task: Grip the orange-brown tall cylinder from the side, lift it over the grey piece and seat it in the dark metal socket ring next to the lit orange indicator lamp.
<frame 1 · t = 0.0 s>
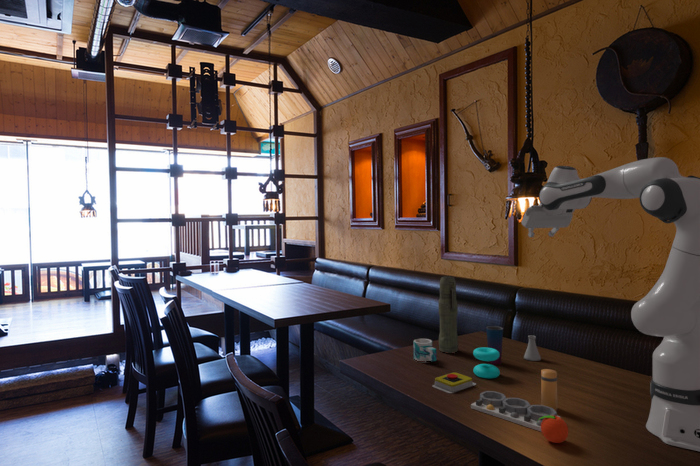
hand: (540, 236, 176), 54 cm above the table, tool tilted 30°, fingers open, 8 cm apart
clementine: (552, 442, 120), on the table
mug: (425, 361, 191), on the table
cup: (494, 363, 187), on the table
flask: (532, 359, 191), on the table
emergency button: (454, 387, 162), on the table
grey piece: (514, 414, 137), on the table
donuts: (486, 375, 172), on the table
orange-brown tall cylinder: (549, 408, 141), on the table
thermos: (448, 351, 205), on the table
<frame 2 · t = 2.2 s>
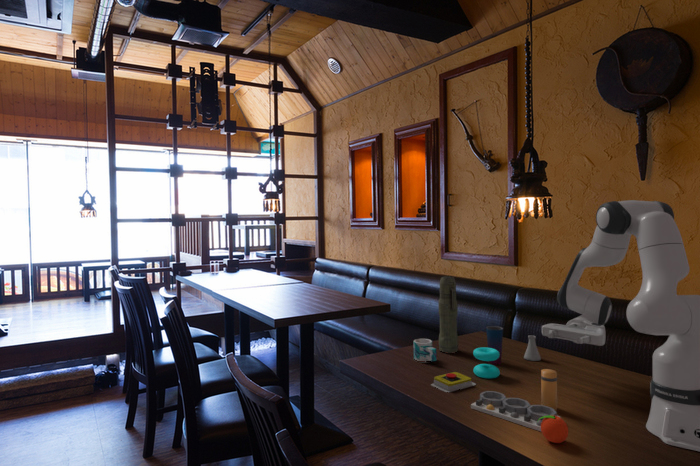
hand: (564, 338, 149), 20 cm above the table, tool horizontal, fingers open, 8 cm apart
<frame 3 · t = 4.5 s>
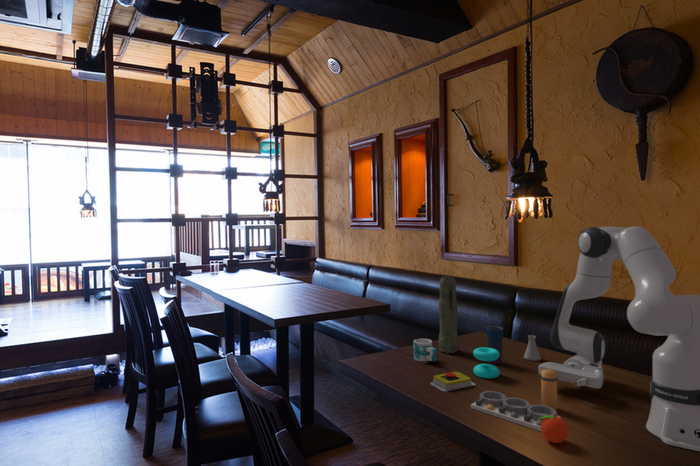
hand: (561, 380, 147), 7 cm above the table, tool horizontal, fingers open, 8 cm apart
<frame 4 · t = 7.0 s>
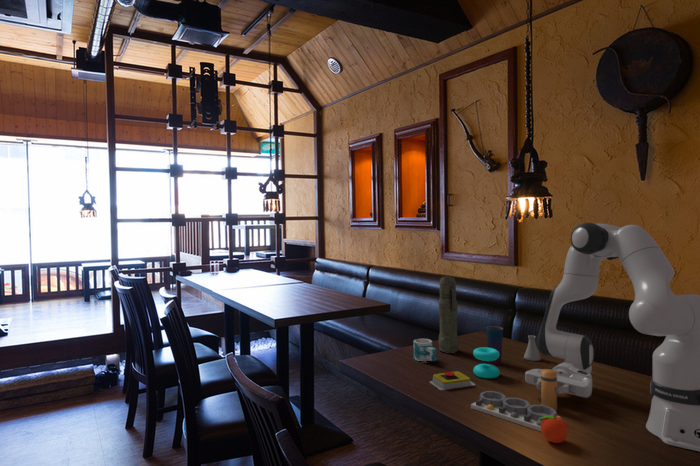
hand: (548, 388, 140), 7 cm above the table, tool horizontal, fingers closed on orange-brown tall cylinder, 5 cm apart
orange-brown tall cylinder: (549, 408, 141), on the table, touching gripper
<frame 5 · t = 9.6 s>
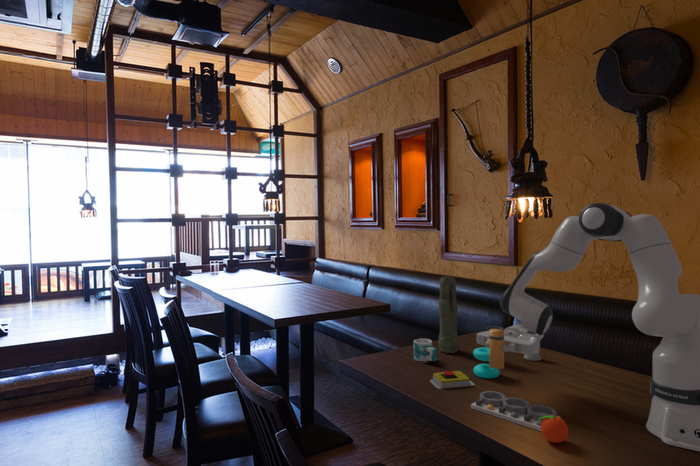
hand: (495, 347, 143), 19 cm above the table, tool horizontal, fingers closed on orange-brown tall cylinder, 5 cm apart
orange-brown tall cylinder: (496, 366, 144), point 13 cm above the table, touching gripper
when the fingers open (9 cm above the table, at t = 12.6 s): orange-brown tall cylinder stays where it is, resting on grey piece.
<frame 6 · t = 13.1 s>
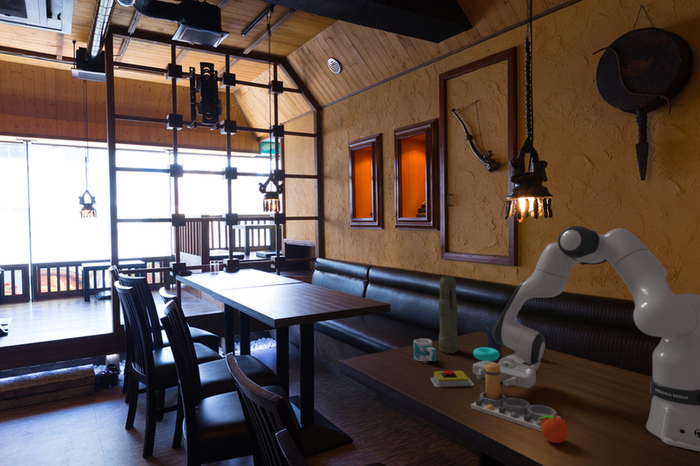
hand: (491, 379, 143), 9 cm above the table, tool horizontal, fingers open, 8 cm apart
orange-brown tall cylinder: (492, 401, 144), point 1 cm above the table, touching grey piece
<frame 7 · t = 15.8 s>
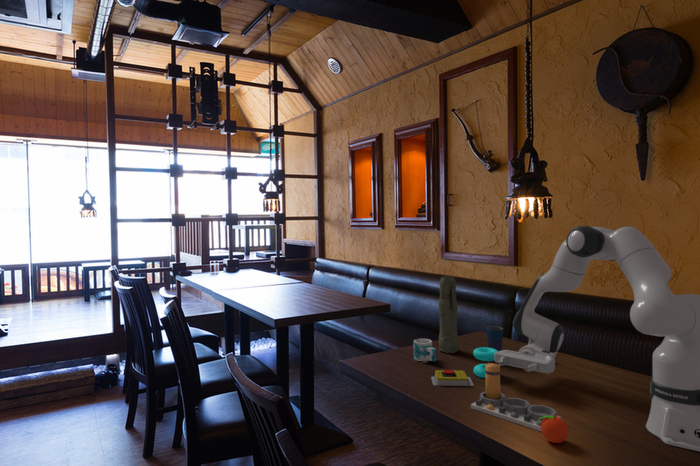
hand: (513, 366, 152), 10 cm above the table, tool horizontal, fingers open, 8 cm apart
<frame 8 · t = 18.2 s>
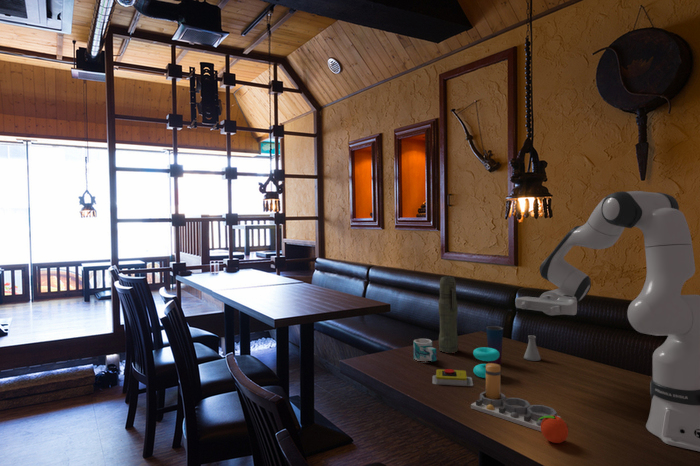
hand: (535, 308, 152), 30 cm above the table, tool horizontal, fingers open, 8 cm apart
at the end: orange-brown tall cylinder 0.1 cm from the target spot on the grey piece, point 1.2 cm above the grey piece's base; orange-brown tall cylinder tilted 1°; the gripper is holding nothing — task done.
